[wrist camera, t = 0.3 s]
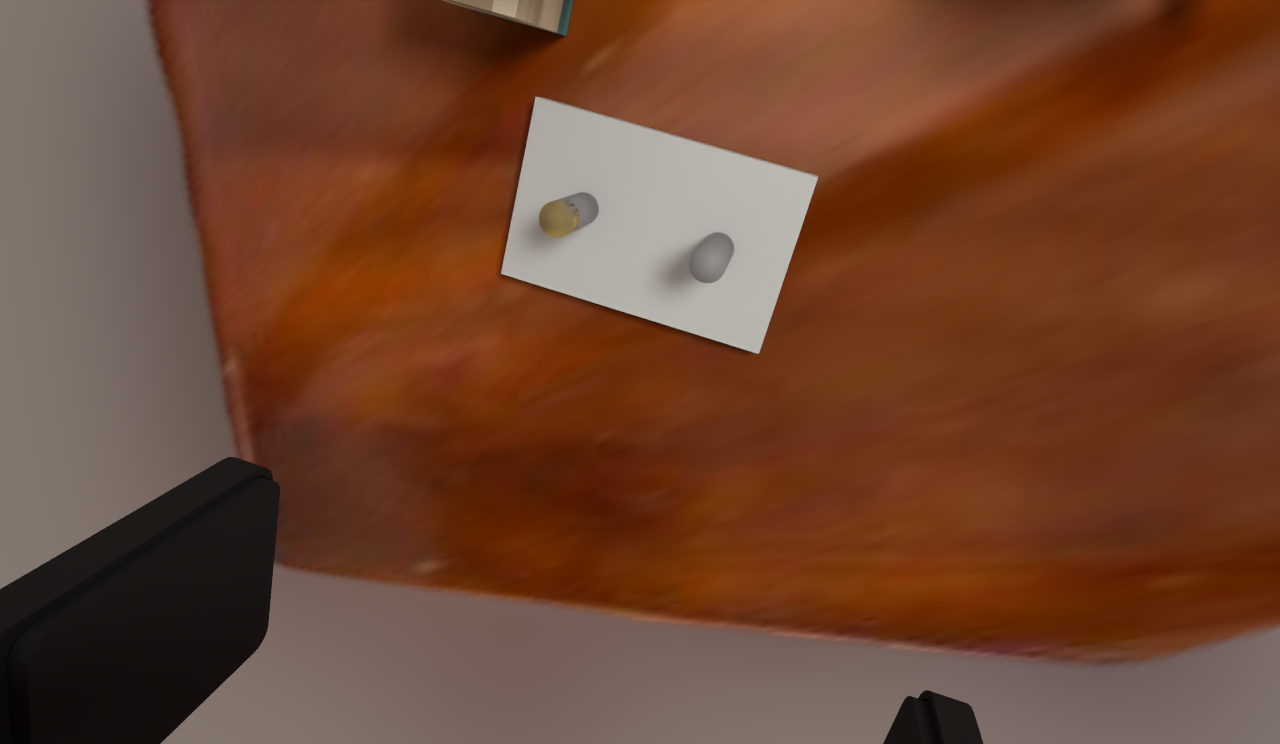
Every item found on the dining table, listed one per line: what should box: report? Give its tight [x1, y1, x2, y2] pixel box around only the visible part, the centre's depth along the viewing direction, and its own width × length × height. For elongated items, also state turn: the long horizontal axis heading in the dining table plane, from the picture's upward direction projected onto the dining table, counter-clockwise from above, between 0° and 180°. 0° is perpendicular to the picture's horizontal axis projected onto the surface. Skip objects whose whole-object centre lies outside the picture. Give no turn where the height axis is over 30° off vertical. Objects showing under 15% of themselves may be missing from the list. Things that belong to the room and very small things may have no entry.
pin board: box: [501, 97, 818, 354], centre depth 36 cm, size 9×14×6 cm, turn 75°
